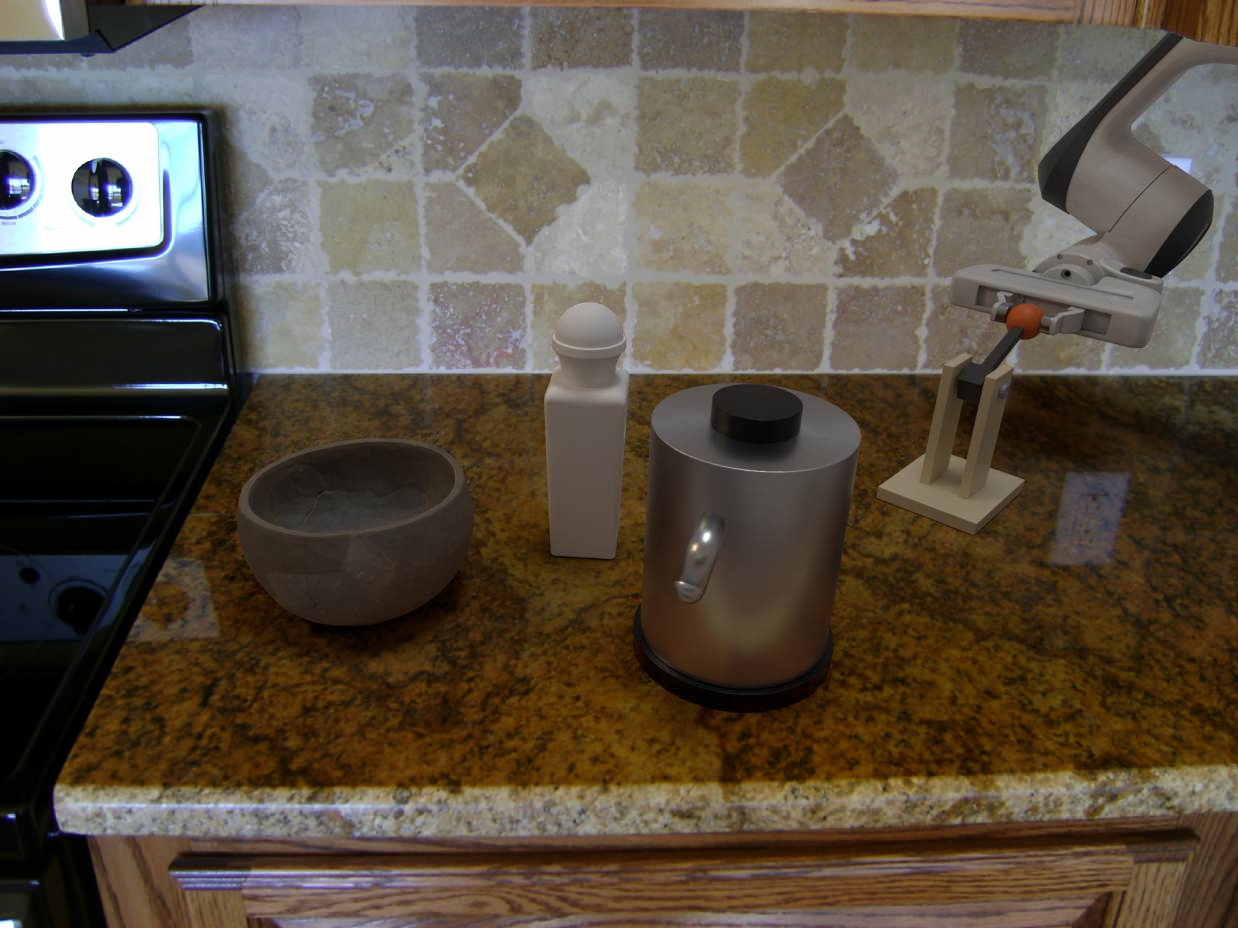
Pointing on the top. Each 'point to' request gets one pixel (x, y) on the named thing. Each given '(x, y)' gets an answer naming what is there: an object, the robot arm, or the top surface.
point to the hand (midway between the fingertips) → (1022, 320)
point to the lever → (1000, 350)
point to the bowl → (356, 528)
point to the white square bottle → (586, 432)
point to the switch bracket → (958, 459)
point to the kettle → (743, 543)
